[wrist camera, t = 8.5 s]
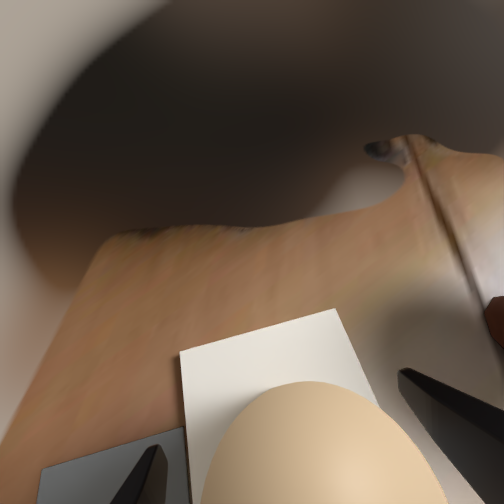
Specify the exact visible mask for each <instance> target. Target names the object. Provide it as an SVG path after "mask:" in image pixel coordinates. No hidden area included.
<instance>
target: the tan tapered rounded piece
mask: <svg viewBox="0 0 504 504" xmlns="http://www.w3.org/2000/svg"><path fill="white" fill-rule="evenodd" d="M200 504H449V503H448V501H447V499H446V496H445V494H444V492H443V489H442V487H441V485H440V484H439V482H438V480H437V478H436V476H435V474H434V473H433V471H432V469H431V467H430V465H429V464H428V462H427V461H426V459H425V458H424V456H423V455H422V453H421V452H420V450H419V449H418V448H417V446H416V445H415V444H414V443H413V441H412V440H411V439H410V438H409V436H408V435H407V434H406V433H405V431H404V430H403V429H402V428H401V427H400V426H399V425H398V424H397V423H396V422H395V421H394V420H393V419H392V418H391V417H390V416H388V415H387V414H386V413H385V412H384V411H382V410H381V409H380V408H379V407H378V406H376V405H375V404H373V403H372V402H370V401H369V400H367V399H366V398H364V397H362V396H360V395H358V394H357V393H355V392H353V391H351V390H348V389H345V388H343V387H340V386H337V385H333V384H329V383H325V382H315V381H303V382H294V383H289V384H285V385H281V386H278V387H274V388H272V389H269V390H268V391H266V392H265V393H263V394H262V395H260V396H259V397H258V398H256V399H255V400H254V401H253V402H251V403H250V404H249V405H248V406H247V407H246V408H245V409H244V410H243V411H242V412H241V413H240V414H239V415H238V416H237V417H236V419H235V420H234V421H233V422H232V424H231V425H230V426H229V428H228V429H227V431H226V433H225V434H224V436H223V438H222V439H221V441H220V443H219V445H218V447H217V449H216V452H215V454H214V456H213V458H212V461H211V464H210V467H209V470H208V473H207V476H206V479H205V483H204V488H203V492H202V497H201V502H200Z"/></svg>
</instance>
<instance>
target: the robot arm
mask: <svg viewBox="0 0 504 504" xmlns="http://www.w3.org/2000/svg"><path fill="white" fill-rule="evenodd" d="M397 377H398V388H399V391H400V393H401V395H402V396H403V398H404V399H405V400H406V402H407V403H408V405H409V406H410V408H411V409H412V410H413V412H414V413H415V415H416V416H417V418H418V419H419V421H420V422H421V423H422V425H423V426H424V428H425V429H426V431H427V432H428V433H429V435H430V436H431V438H432V439H433V440H434V441H435V443H436V444H437V445H438V446H439V448H440V449H441V450H442V451H443V453H444V454H445V455H446V456H447V457H448V459H449V460H450V461H451V462H452V464H453V465H454V466H455V467H456V468H457V470H458V471H459V472H460V473H461V475H462V476H463V477H464V478H465V479H466V481H467V482H468V483H469V484H470V485H471V487H472V488H473V489H474V490H475V492H476V493H477V494H478V495H479V496H480V498H481V499H482V500H483V501H484V503H485V504H504V411H503V410H501V409H499V408H497V407H494V406H492V405H490V404H488V403H486V402H483V401H481V400H479V399H477V398H475V397H472V396H470V395H468V394H466V393H464V392H461V391H459V390H457V389H455V388H453V387H450V386H448V385H446V384H444V383H442V382H439V381H437V380H435V379H433V378H431V377H428V376H426V375H424V374H422V373H420V372H417V371H415V370H413V369H411V368H404V369H401V370H398V372H397ZM167 477H168V460H167V457H166V455H165V453H164V451H163V448H162V446H161V445H160V444H155V445H152V446H149V447H148V448H147V449H146V450H145V451H144V453H143V454H142V456H141V457H140V459H139V460H138V462H137V463H136V465H135V466H134V468H133V469H132V471H131V472H130V474H129V475H128V477H127V478H126V480H125V481H124V483H123V484H122V486H121V487H120V489H119V490H118V492H117V493H116V495H115V496H114V497H113V499H112V500H111V502H110V503H109V504H165V502H166V490H167Z"/></svg>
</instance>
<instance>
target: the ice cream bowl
mask: <svg viewBox="0 0 504 504" xmlns="http://www.w3.org/2000/svg"><path fill="white" fill-rule="evenodd" d="M484 314H485V317H486V320H487V323H488V327H489V330H490V333H491V336H492V337H493V338H494V339H495V340H496V341H497V342H498V343H499V344H500V345H501V346H502V347H503V348H504V296H499V297H493V299H492V301H491V302H490V304H489V305H488V307H487V309H486V310H485V312H484Z"/></svg>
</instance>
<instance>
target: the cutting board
mask: <svg viewBox="0 0 504 504" xmlns="http://www.w3.org/2000/svg"><path fill="white" fill-rule="evenodd" d="M180 361H181V373H182V384H183V396H184V407H185V418H186V430H187V441H188V453H189V464H190V476H191V487H192V498H193V504H200V502H201V497H202V492H203V488H204V483H205V479H206V476H207V473H208V470H209V467H210V464H211V461H212V458H213V456H214V454H215V452H216V449H217V447H218V445H219V443H220V441H221V439H222V438H223V436H224V434H225V433H226V431H227V429H228V428H229V426H230V425H231V424H232V422H233V421H234V420H235V419H236V417H237V416H238V415H239V414H240V413H241V412H242V411H243V410H244V409H245V408H246V407H247V406H248V405H249V404H250V403H251V402H253V401H254V400H255V399H256V398H258V397H259V396H260V395H262V394H263V393H265V392H266V391H268V390H269V389H272V388H274V387H278V386H281V385H285V384H289V383H294V382H303V381H315V382H325V383H329V384H333V385H337V386H340V387H343V388H345V389H348V390H351V391H353V392H355V393H357V394H358V395H360V396H362V397H364V398H366V399H367V400H369V401H370V402H372V403H373V404H375V405H376V406H378V407H379V405H378V402H377V400H376V398H375V396H374V393H373V391H372V389H371V387H370V385H369V382H368V380H367V378H366V376H365V373H364V371H363V369H362V367H361V365H360V362H359V360H358V358H357V356H356V354H355V351H354V349H353V347H352V345H351V342H350V340H349V338H348V336H347V334H346V331H345V329H344V327H343V325H342V322H341V320H340V318H339V316H338V314H337V311H336V309H335V308H334V309H330V310H327V311H323V312H320V313H316V314H312V315H309V316H305V317H302V318H298V319H295V320H291V321H287V322H284V323H280V324H277V325H273V326H270V327H266V328H262V329H259V330H255V331H252V332H248V333H245V334H241V335H238V336H234V337H230V338H227V339H223V340H220V341H216V342H213V343H209V344H205V345H202V346H198V347H195V348H191V349H188V350H184V351H180ZM379 408H380V407H379Z"/></svg>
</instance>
